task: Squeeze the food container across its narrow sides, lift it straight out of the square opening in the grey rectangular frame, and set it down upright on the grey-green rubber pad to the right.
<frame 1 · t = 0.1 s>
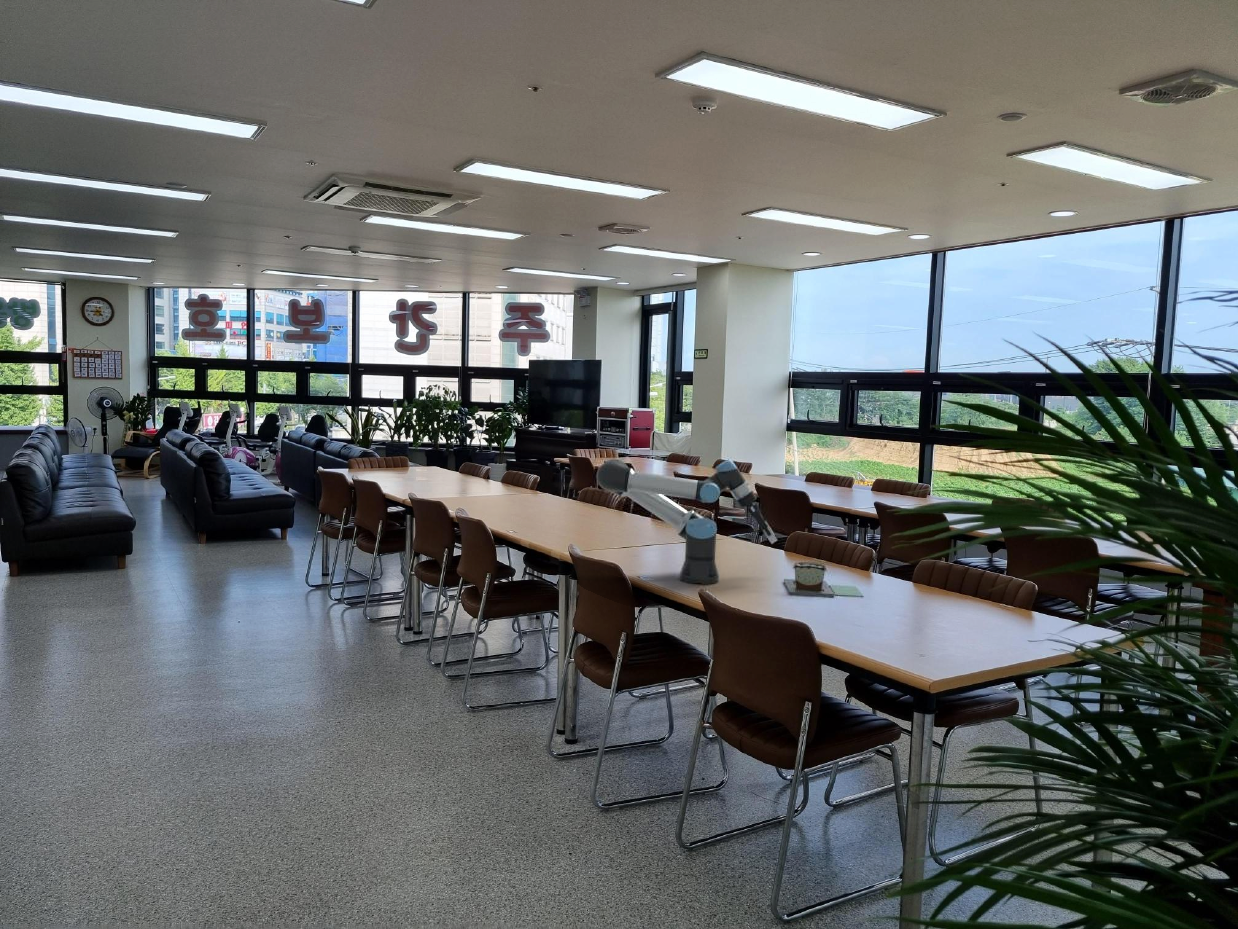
hand: (773, 539, 339), 15 cm above the table, tool tilted 35°, fingers open, 13 cm apart
pad: (845, 591, 319), on the table
grey rectangular frame: (808, 589, 320), on the table
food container: (808, 590, 320), resting in grey rectangular frame
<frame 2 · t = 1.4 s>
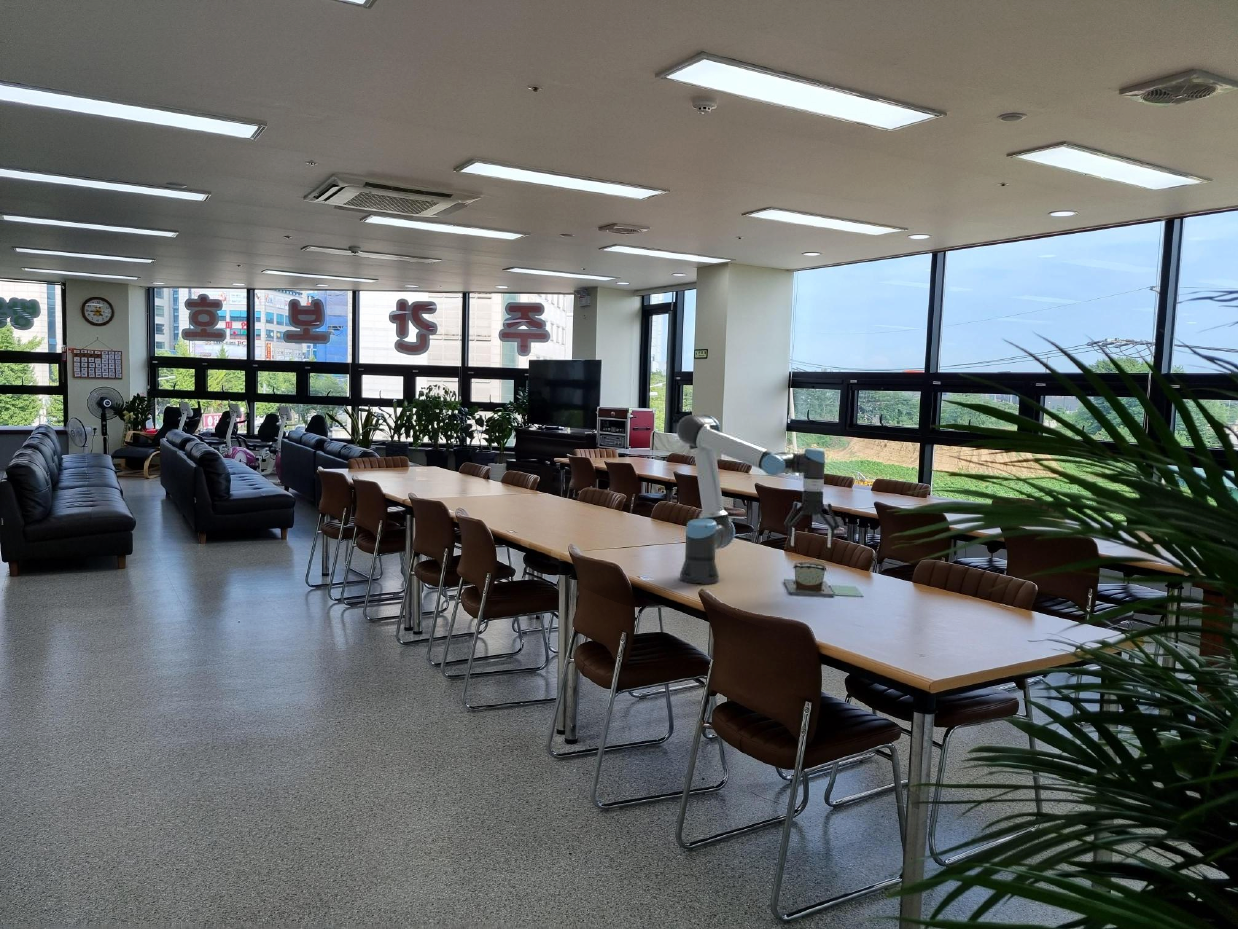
hand: (810, 546, 319), 16 cm above the table, tool pointing down, fingers open, 13 cm apart
nothing on the table moved.
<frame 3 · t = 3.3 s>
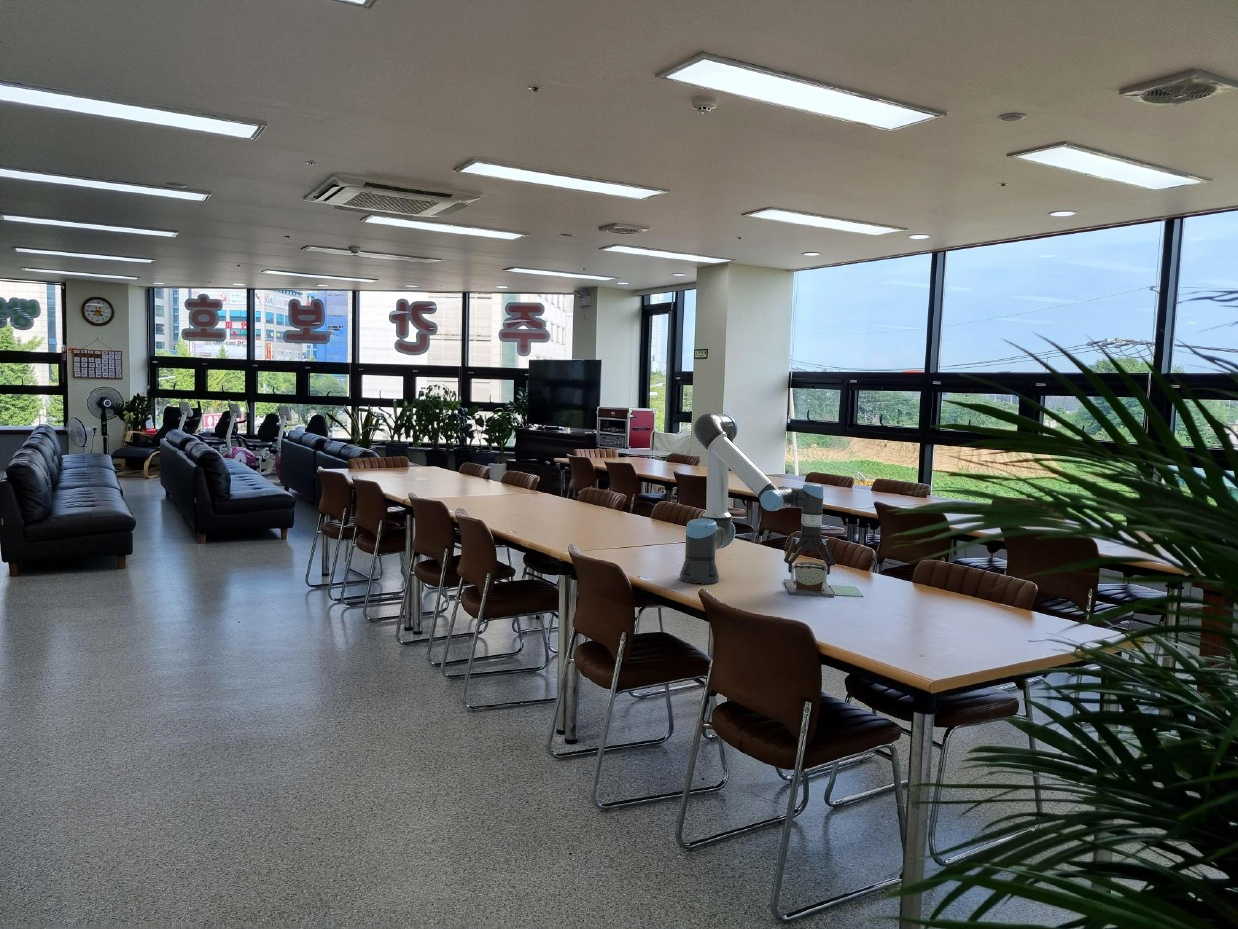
hand: (808, 582, 320), 3 cm above the table, tool pointing down, fingers closed on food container, 11 cm apart
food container: (808, 589, 320), resting in grey rectangular frame, touching gripper
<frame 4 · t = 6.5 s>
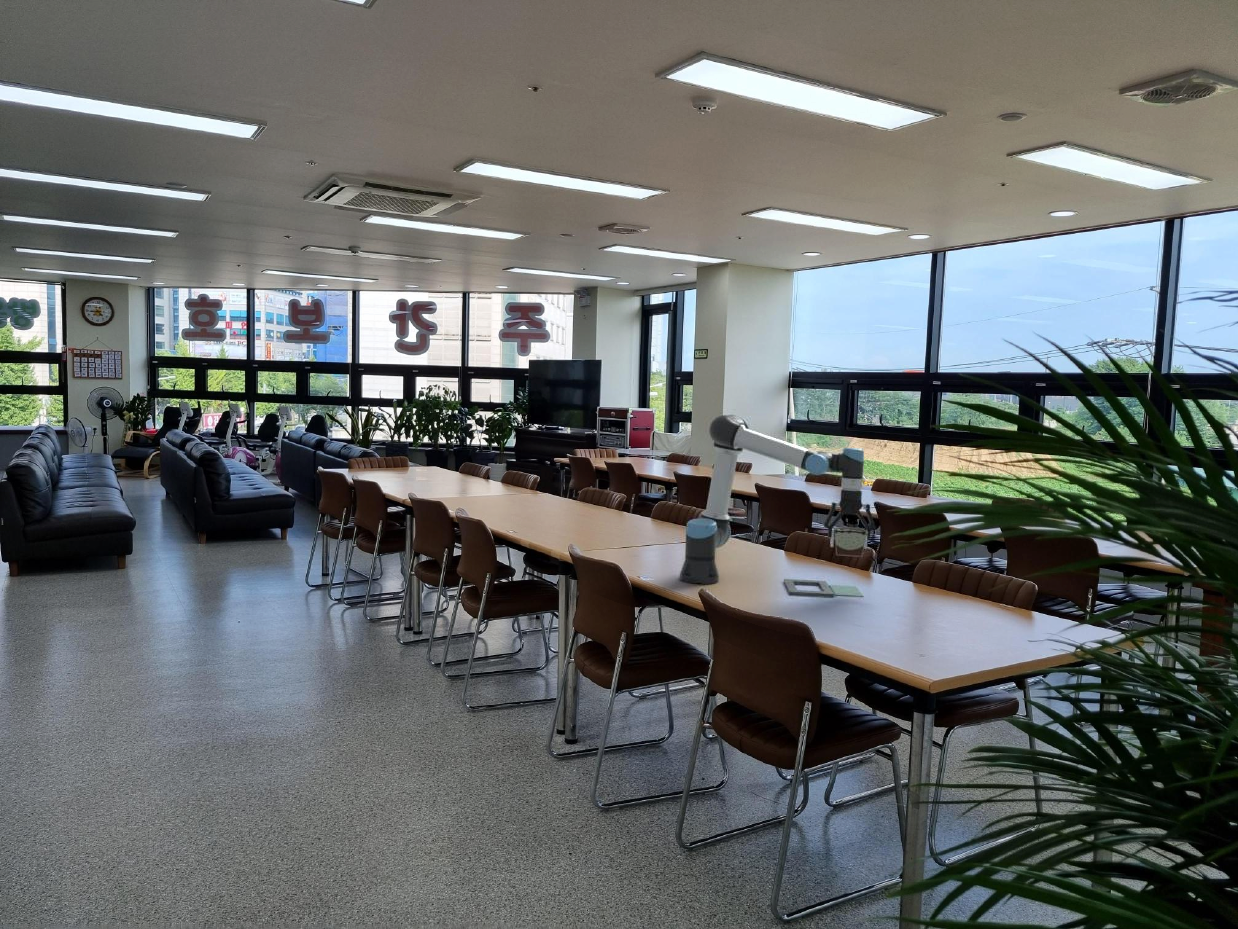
hand: (848, 547, 317), 17 cm above the table, tool pointing down, fingers closed on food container, 11 cm apart
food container: (848, 555, 318), point 14 cm above the table, touching gripper
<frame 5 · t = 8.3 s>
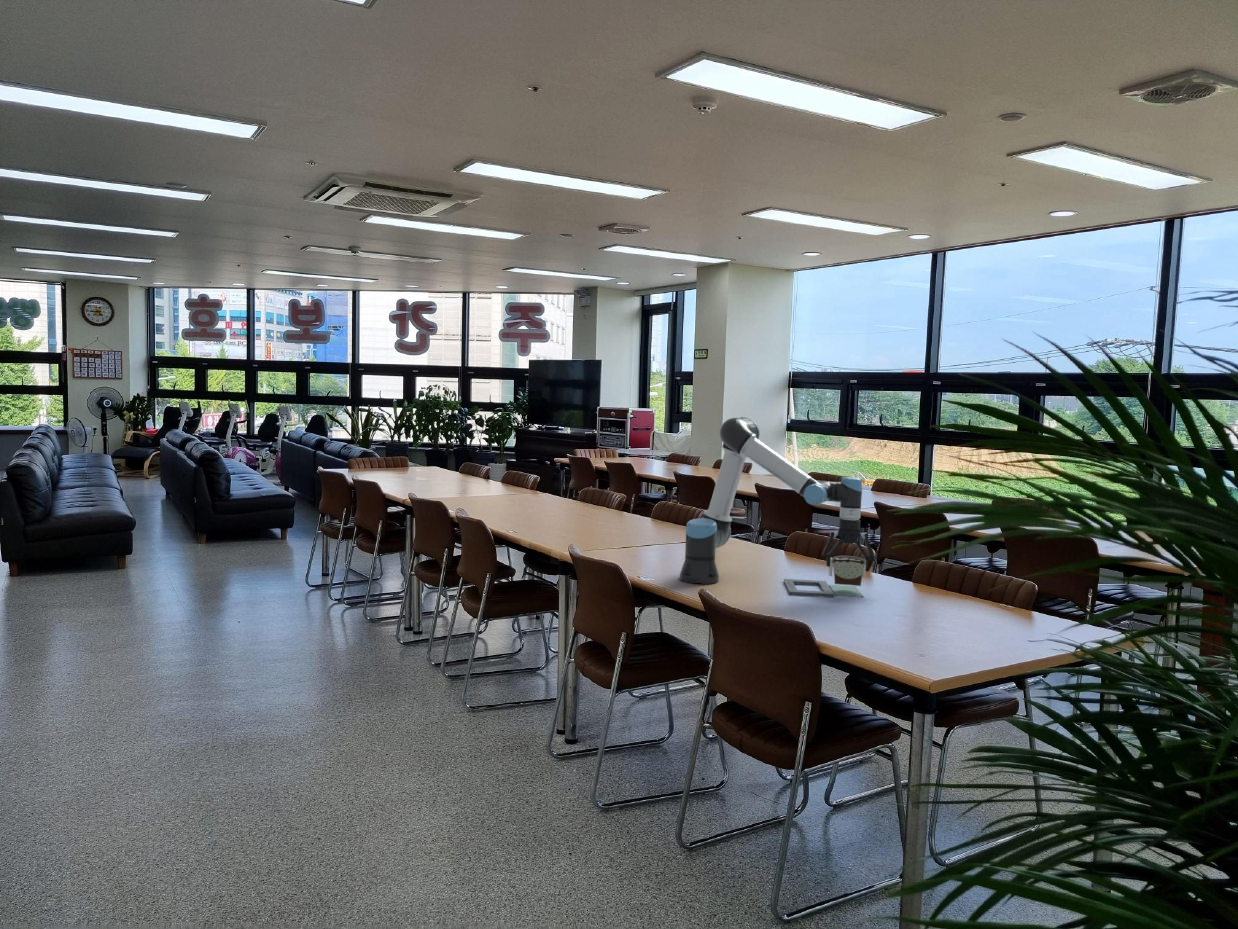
hand: (846, 576, 318), 6 cm above the table, tool pointing down, fingers closed on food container, 11 cm apart
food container: (847, 583, 319), point 3 cm above the table, touching gripper
when the fingers open (5 cm above the table, at t = 9.7 s): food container drops 1 cm, resting on pad.
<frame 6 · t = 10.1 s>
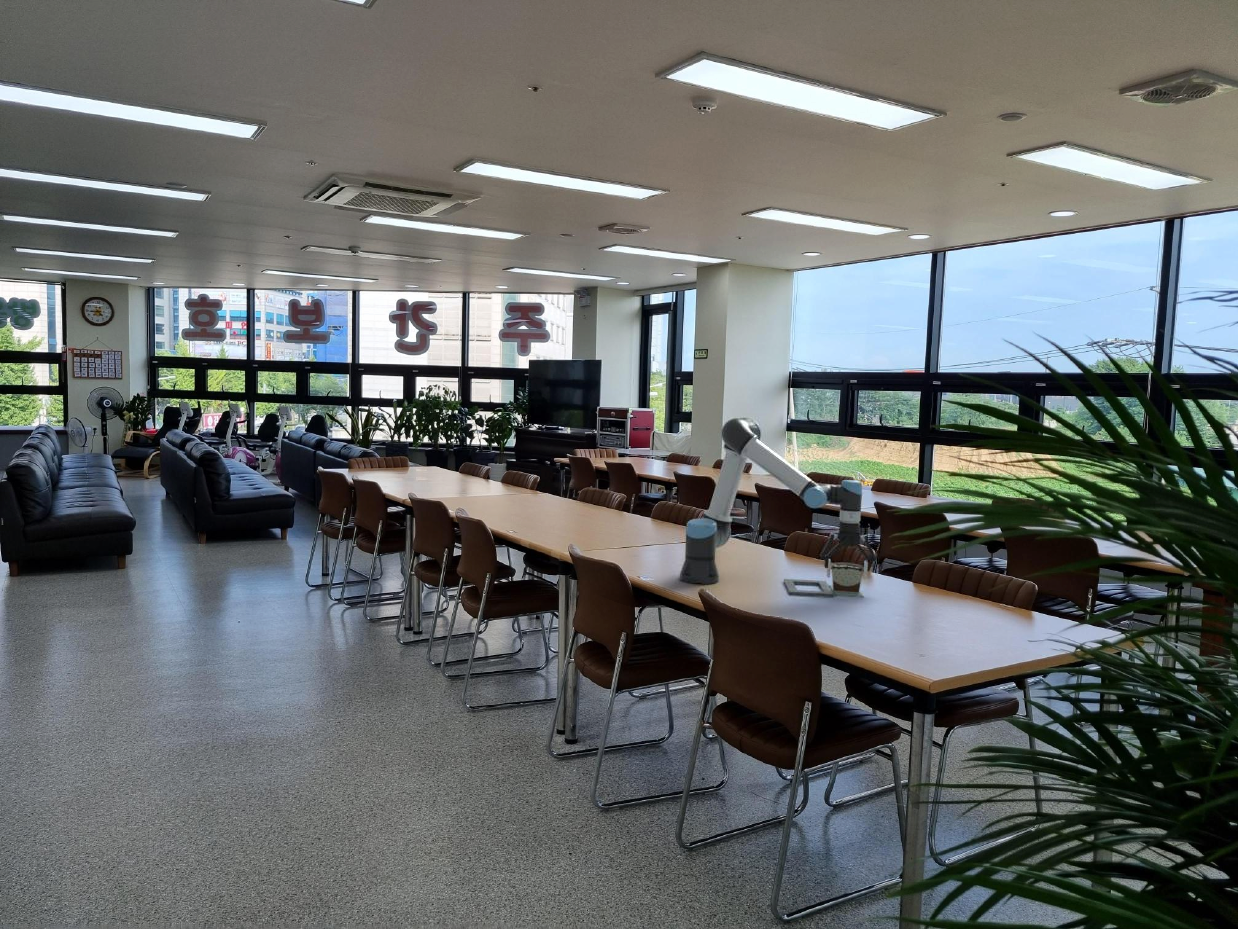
hand: (846, 577, 318), 5 cm above the table, tool pointing down, fingers open, 13 cm apart
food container: (845, 590, 319), resting on pad
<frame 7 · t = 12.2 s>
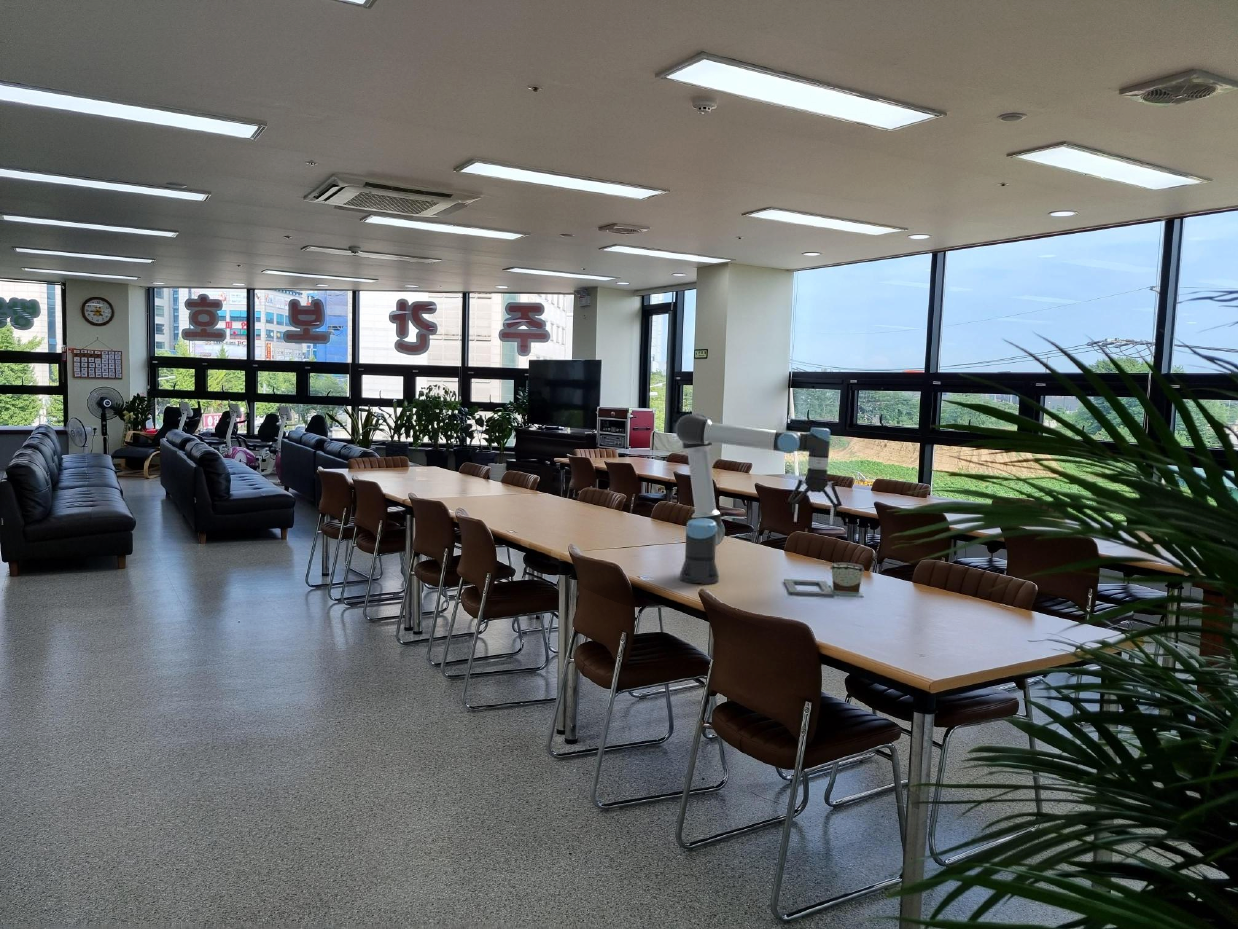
hand: (813, 522, 328), 24 cm above the table, tool pointing down, fingers open, 13 cm apart
nothing on the table moved.
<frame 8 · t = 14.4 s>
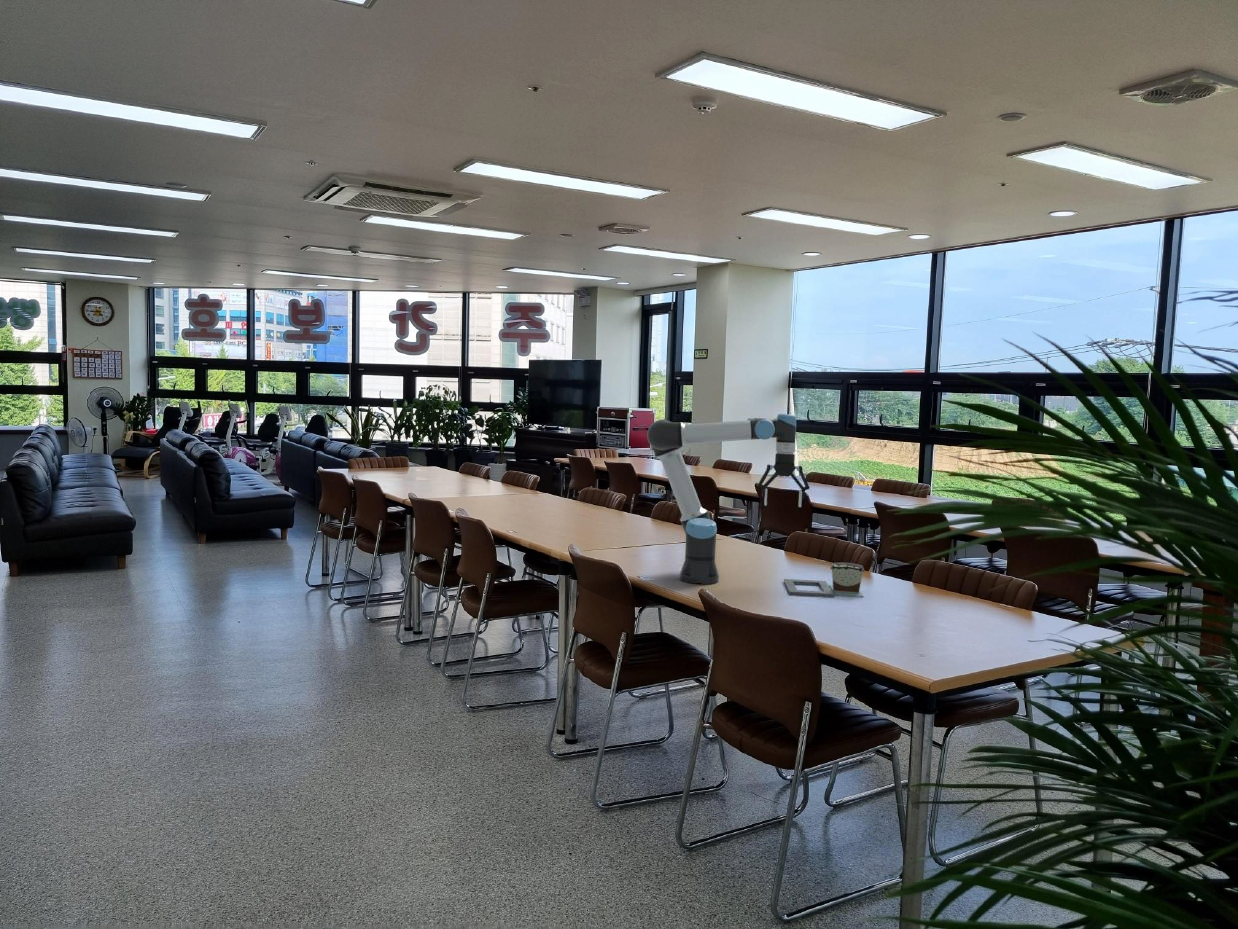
hand: (782, 506, 338), 29 cm above the table, tool pointing down, fingers open, 13 cm apart
nothing on the table moved.
at the end: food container inside the target area (0.1 cm from its centre), resting on pad; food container tilted 0°; the gripper is holding nothing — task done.
